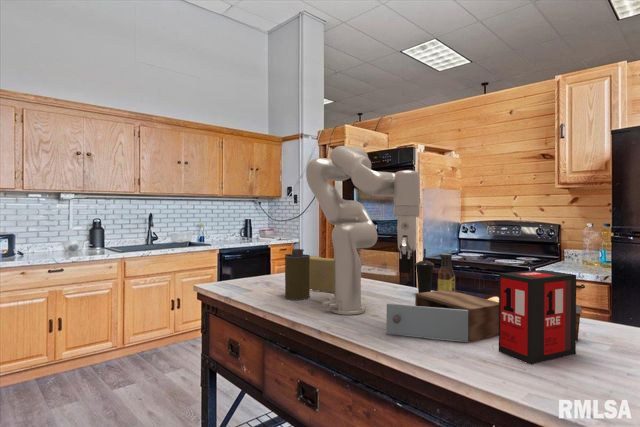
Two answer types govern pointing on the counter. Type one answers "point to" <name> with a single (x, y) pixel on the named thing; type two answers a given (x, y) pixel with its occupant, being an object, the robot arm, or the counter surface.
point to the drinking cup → (424, 275)
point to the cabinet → (479, 310)
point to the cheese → (321, 274)
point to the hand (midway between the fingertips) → (406, 270)
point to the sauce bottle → (446, 274)
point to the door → (427, 322)
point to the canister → (297, 275)
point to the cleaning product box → (537, 315)
